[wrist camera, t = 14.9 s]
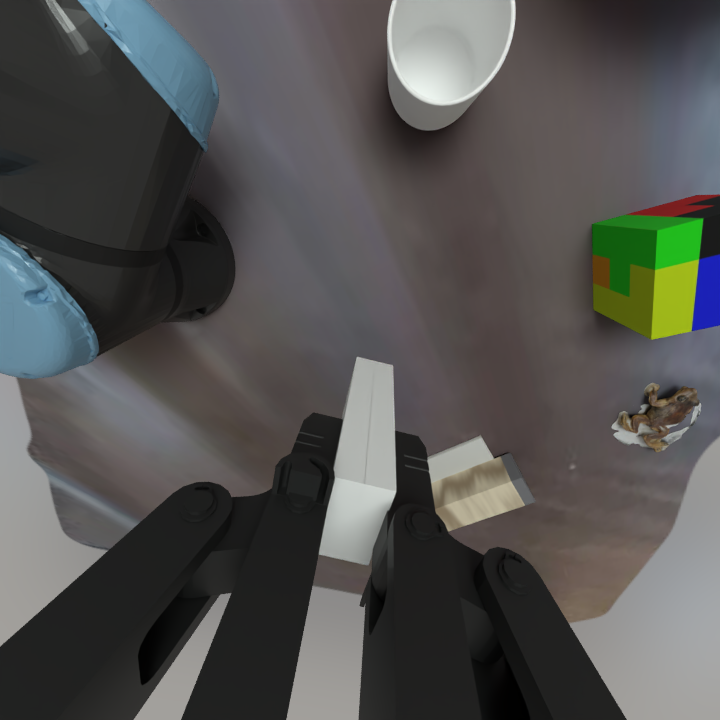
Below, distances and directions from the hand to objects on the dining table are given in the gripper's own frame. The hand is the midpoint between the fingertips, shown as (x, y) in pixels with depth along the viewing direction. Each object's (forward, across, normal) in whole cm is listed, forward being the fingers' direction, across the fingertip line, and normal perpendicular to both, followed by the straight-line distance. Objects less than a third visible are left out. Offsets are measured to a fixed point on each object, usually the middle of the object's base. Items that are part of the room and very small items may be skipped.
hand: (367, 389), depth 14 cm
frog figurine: (+30, +41, -10) cm, 52 cm away
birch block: (+26, +13, -37) cm, 47 cm away
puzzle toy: (+30, +28, +8) cm, 42 cm away
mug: (+30, 0, +20) cm, 36 cm away
